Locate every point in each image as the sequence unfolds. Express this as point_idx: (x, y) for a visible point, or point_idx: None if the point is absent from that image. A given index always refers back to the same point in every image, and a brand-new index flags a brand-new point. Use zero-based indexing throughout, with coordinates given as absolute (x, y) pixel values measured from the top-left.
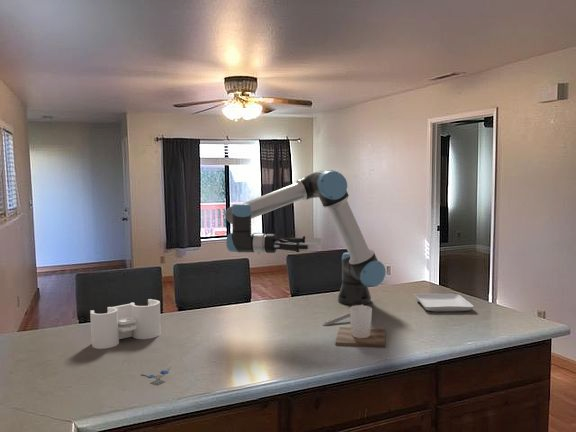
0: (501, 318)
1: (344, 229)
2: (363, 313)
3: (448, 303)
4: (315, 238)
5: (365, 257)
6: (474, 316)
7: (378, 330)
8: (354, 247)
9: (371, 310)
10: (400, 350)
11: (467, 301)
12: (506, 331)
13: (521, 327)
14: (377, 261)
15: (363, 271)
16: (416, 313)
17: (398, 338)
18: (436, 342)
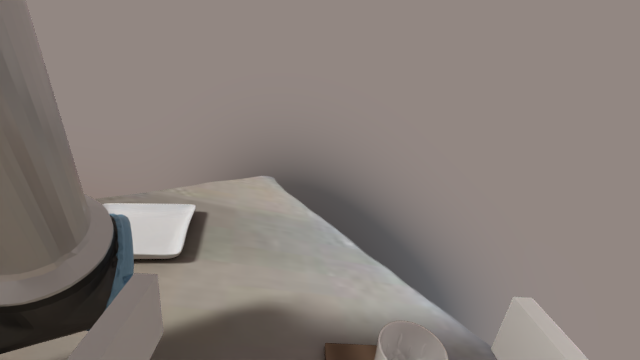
0: (231, 200)
1: (20, 118)
2: (438, 346)
3: (131, 226)
4: (116, 327)
5: (103, 226)
6: (217, 217)
7: (340, 357)
8: (67, 208)
9: (410, 324)
10: (431, 327)
11: (161, 204)
12: (290, 208)
13: (271, 196)
14: (122, 216)
15: (123, 281)
16: (179, 277)
17: (362, 325)
18: (362, 274)
